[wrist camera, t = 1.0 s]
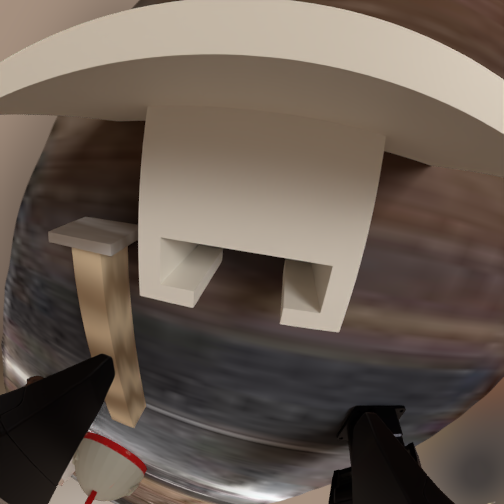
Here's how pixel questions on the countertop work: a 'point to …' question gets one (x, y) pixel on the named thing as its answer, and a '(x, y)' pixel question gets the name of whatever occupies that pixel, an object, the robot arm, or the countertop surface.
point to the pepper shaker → (67, 472)
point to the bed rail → (107, 304)
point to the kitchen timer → (106, 469)
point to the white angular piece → (263, 131)
